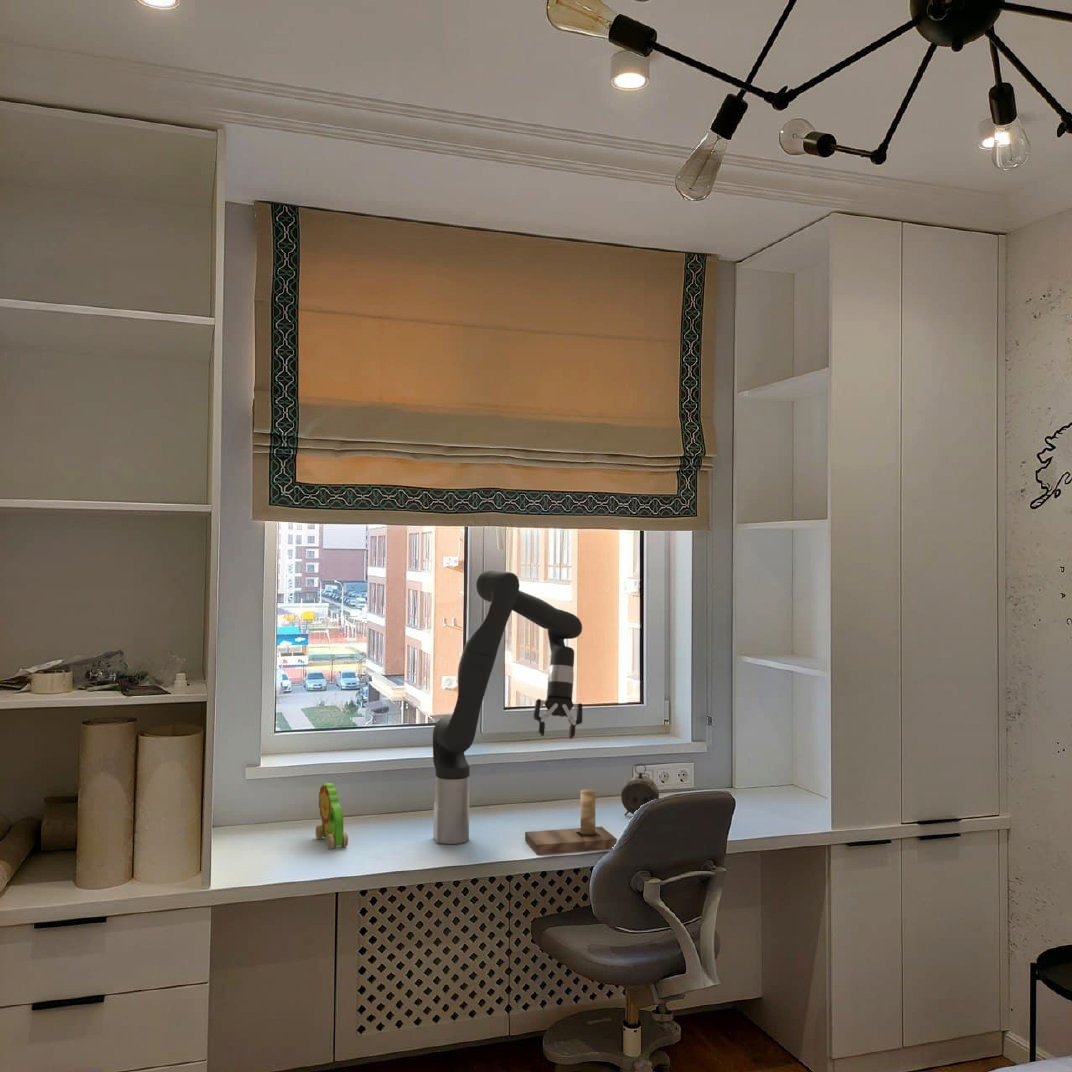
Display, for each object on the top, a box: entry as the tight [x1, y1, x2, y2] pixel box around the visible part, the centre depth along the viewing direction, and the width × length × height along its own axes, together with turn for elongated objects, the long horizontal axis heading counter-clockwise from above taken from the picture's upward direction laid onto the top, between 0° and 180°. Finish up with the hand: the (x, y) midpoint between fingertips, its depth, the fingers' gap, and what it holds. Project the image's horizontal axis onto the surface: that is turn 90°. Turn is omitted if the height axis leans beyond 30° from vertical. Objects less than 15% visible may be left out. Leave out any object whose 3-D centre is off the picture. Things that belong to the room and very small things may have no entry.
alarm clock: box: [620, 762, 660, 817], centre depth 279 cm, size 11×5×16 cm, turn 76°
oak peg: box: [580, 788, 596, 838], centre depth 254 cm, size 4×4×14 cm
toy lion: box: [315, 782, 349, 850], centre depth 253 cm, size 16×5×15 cm, turn 29°
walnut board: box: [524, 826, 618, 856], centre depth 252 cm, size 22×12×2 cm, turn 106°
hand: (556, 737), depth 276 cm, fingers open, 8 cm apart
